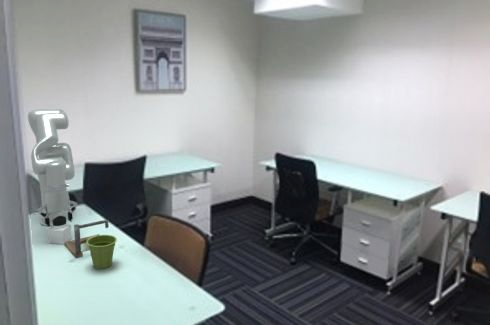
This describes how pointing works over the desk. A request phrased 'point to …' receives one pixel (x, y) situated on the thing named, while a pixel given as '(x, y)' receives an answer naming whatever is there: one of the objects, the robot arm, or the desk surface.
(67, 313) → the desk surface
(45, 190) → the robot arm
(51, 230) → the medicine bottle
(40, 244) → the desk surface
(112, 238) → the plant pot
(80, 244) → the wood and metal stand
